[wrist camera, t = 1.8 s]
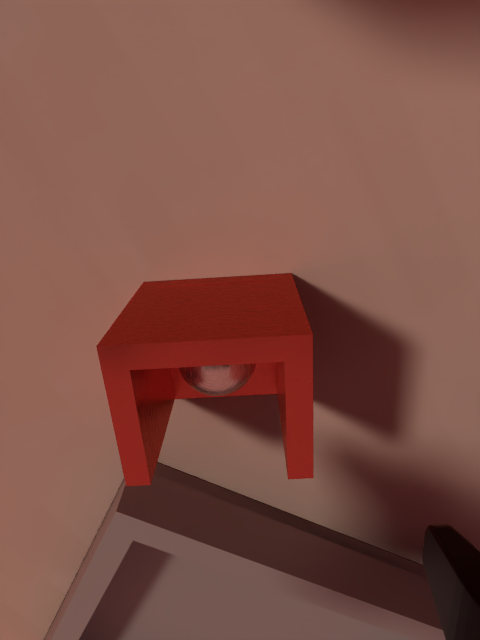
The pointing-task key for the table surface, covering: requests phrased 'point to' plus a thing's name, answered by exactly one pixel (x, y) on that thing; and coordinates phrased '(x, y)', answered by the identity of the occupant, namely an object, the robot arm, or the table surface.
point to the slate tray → (235, 574)
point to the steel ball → (217, 378)
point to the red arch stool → (207, 360)
